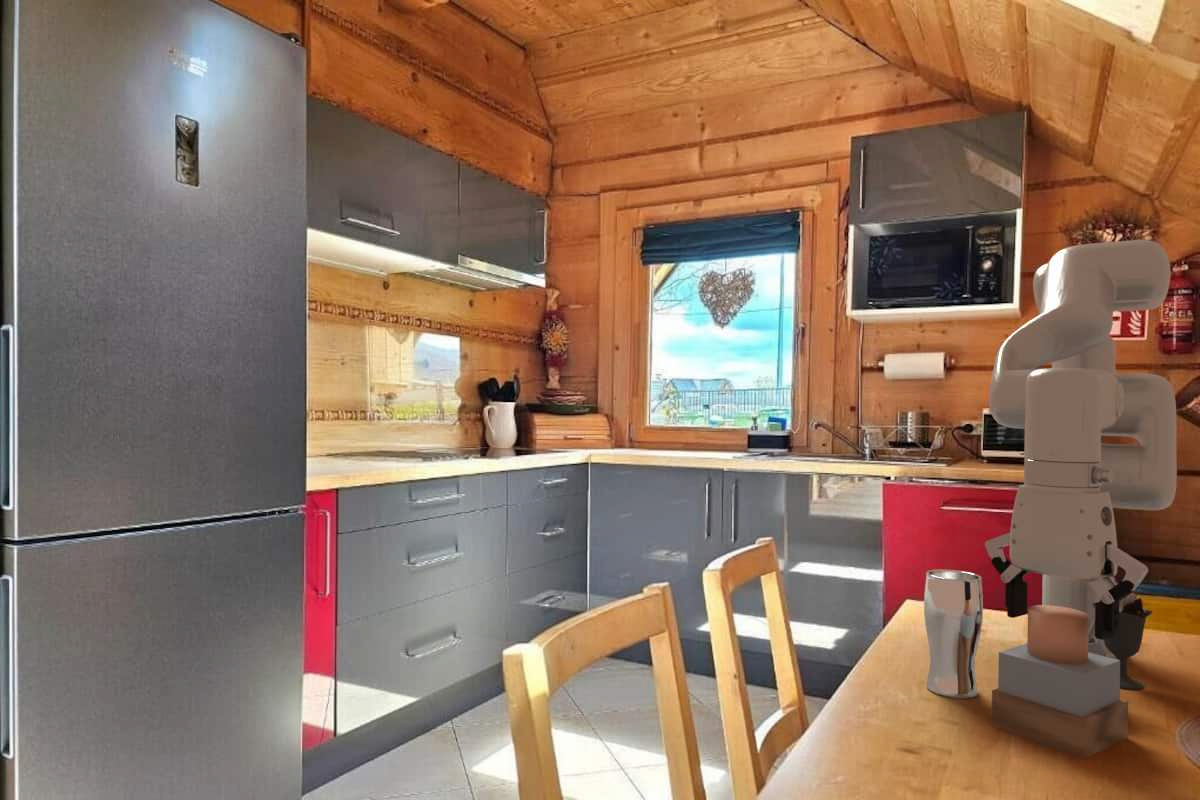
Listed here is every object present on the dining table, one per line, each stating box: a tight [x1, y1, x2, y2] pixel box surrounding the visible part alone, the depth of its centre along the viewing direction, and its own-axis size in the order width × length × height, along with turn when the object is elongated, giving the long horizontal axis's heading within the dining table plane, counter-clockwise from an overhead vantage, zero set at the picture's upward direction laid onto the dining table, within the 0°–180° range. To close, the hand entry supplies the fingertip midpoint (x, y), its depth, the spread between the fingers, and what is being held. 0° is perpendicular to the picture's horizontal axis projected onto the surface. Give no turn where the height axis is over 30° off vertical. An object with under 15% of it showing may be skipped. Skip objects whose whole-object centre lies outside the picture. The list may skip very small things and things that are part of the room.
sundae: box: [1092, 575, 1153, 691], centre depth 106 cm, size 7×7×15 cm
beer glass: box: [923, 569, 984, 700], centre depth 102 cm, size 7×7×15 cm
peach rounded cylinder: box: [1026, 604, 1089, 664], centre depth 90 cm, size 6×6×5 cm
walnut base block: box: [991, 688, 1129, 760], centre depth 90 cm, size 10×10×4 cm
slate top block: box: [997, 642, 1121, 717], centre depth 90 cm, size 9×9×4 cm
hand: (1059, 626), depth 90 cm, fingers open, 9 cm apart
